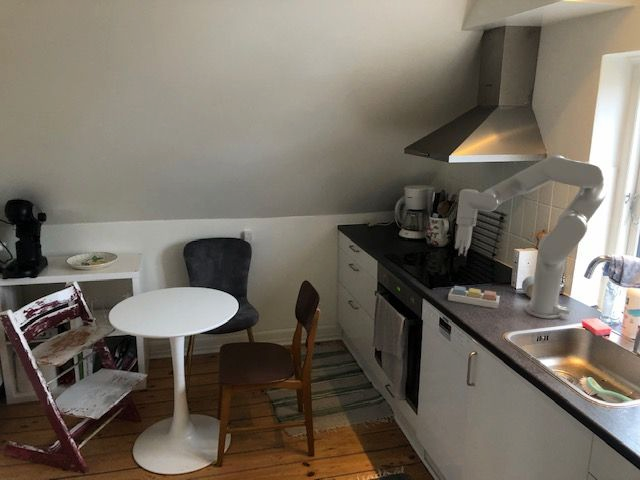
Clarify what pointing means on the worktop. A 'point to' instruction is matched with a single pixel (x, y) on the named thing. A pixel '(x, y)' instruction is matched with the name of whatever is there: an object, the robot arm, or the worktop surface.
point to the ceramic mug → (528, 286)
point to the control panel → (474, 299)
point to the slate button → (459, 290)
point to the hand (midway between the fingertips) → (461, 264)
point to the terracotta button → (489, 295)
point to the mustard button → (474, 293)
